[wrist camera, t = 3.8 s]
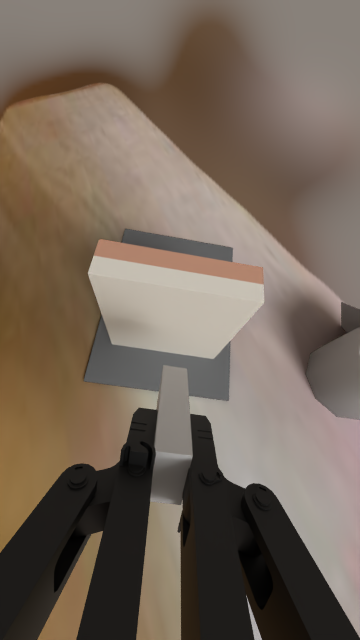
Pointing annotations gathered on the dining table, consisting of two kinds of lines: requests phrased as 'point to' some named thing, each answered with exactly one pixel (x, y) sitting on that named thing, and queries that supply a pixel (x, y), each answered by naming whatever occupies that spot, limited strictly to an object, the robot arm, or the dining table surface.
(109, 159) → the dining table surface
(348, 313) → the toilet tissue
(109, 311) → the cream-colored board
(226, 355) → the mat
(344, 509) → the dining table surface
